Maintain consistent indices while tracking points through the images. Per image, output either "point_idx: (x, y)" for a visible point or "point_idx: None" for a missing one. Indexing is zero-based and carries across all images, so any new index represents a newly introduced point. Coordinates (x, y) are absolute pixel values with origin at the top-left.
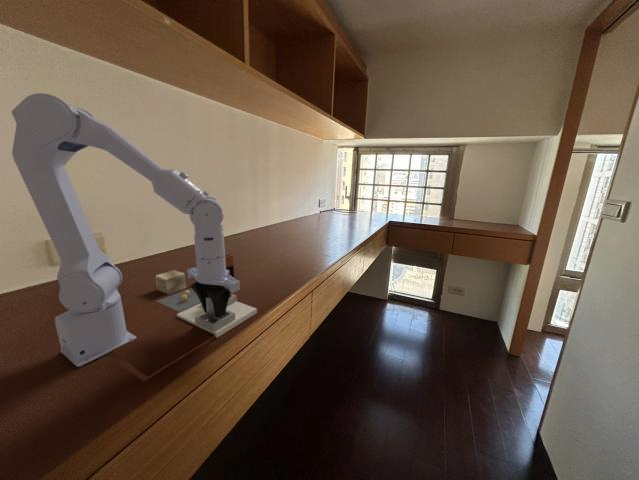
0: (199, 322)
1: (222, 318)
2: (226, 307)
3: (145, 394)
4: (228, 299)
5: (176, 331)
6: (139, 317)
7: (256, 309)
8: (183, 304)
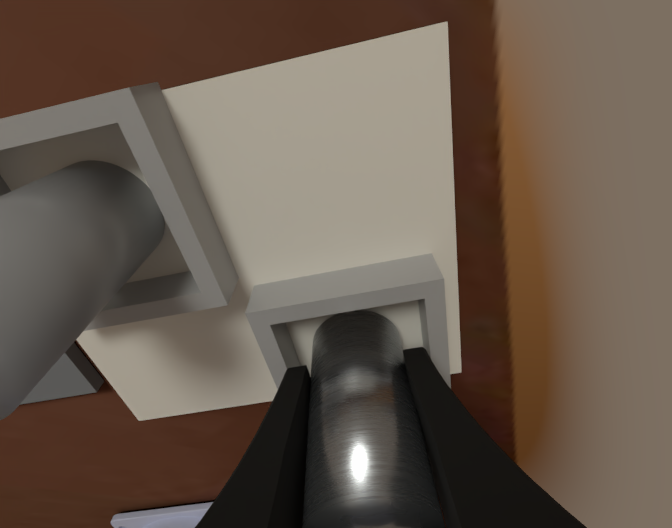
0: None
1: (392, 327)
2: (444, 380)
3: None
4: (493, 442)
5: None
6: (54, 470)
7: (447, 30)
8: None
